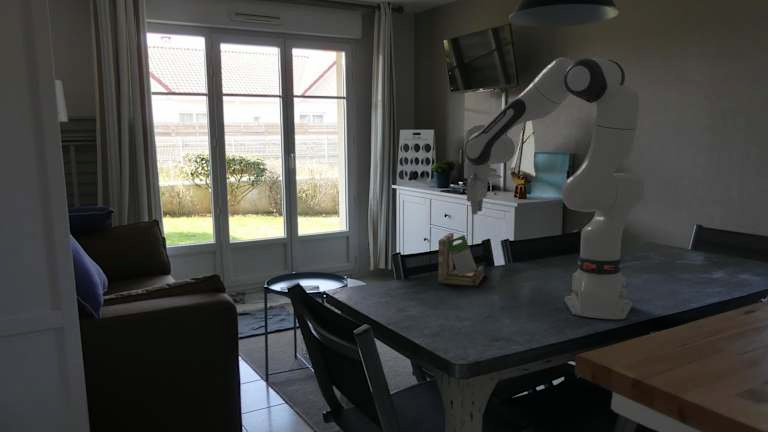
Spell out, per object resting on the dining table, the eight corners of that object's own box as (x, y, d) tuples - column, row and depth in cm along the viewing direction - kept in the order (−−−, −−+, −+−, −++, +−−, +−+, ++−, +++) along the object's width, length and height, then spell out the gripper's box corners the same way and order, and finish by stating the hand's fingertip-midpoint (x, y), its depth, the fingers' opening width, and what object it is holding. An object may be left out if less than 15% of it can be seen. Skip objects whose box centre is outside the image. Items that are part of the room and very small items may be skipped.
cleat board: (476, 286, 191) (476, 242, 189) (438, 282, 196) (438, 240, 194) (484, 275, 206) (484, 234, 204) (448, 272, 210) (449, 233, 208)
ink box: (476, 267, 202) (463, 233, 201) (477, 270, 198) (464, 235, 197) (457, 274, 203) (445, 239, 201) (458, 276, 199) (446, 241, 198)
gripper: (481, 174, 185) (481, 216, 186) (490, 172, 204) (490, 209, 205) (462, 174, 187) (462, 215, 188) (473, 172, 206) (473, 209, 207)
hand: (476, 212), depth 197 cm, fingers open, 8 cm apart
